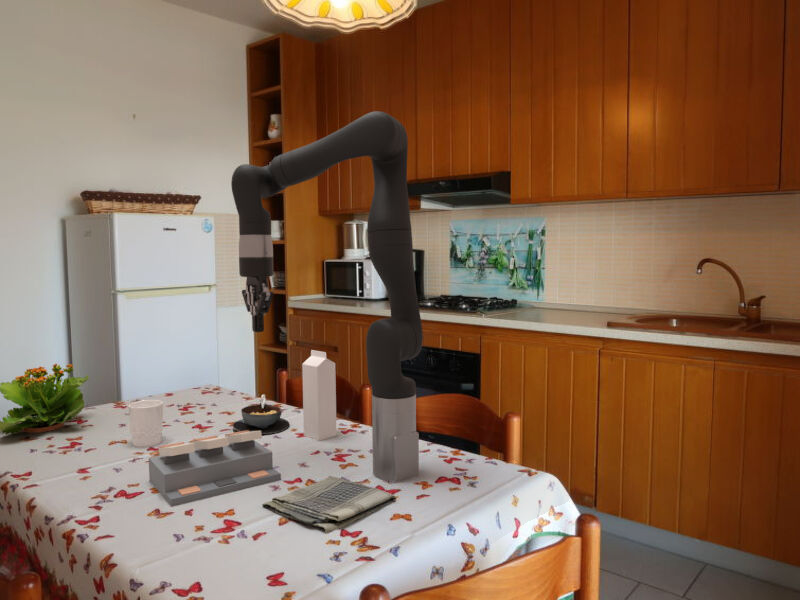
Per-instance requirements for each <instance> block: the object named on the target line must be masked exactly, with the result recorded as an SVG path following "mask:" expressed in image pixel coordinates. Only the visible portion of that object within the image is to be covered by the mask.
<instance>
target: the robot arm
mask: <svg viewBox="0 0 800 600" xmlns="http://www.w3.org/2000/svg"><path fill="white" fill-rule="evenodd" d="M408 140H409V139H408V134H407V131H406V128H405V127H404V125H403V124H402V123H401V122H400V121H399V120H398V119H396V118H395V117H393V116H392V115H391V114H389V113H386V112H384V111H380V110H379V111H378V110H375V111H371V112H368V113H366V114H364V115H362V116H361V117H358V118H356V119H355V120H354V121H352V122H350V123H348V124H347V125H344V126H343V127H342V128H339V129H338V130H336V131H334V132H331V133H330V134H329V135H326V136H325V137H322V138H320V139H318V140H316V141H314V142H311V143H308V144H306V145H303V146H301V147H299V148H295V149H292V150H290V151H287V152H283V153H281V154H279V155H277V156H275V157H274V158H273V159H272V160H271V161H270V164H268V165H265V166H257V165H253V164H247V163H244V164H240V165H239V166H237V167H236V168H235V169H234V170H233V173H232V176H231V182H230V183H231V193H232V196H233V201H234V204H235V208H236V212H237V214H238V226H239V227H238V229H239V230H238V231H239V239H238V240H239V241H238V265H239V266H238V267H239V268H238V270H239V273H238V274H239V276H240V278H241V277H242V278H246V282H245V289H241V293H242V297H243V301H244V304H245V308H246V310H247V312H248V313H249V314H250V316H251V324H252V325H251V327H252V329H251V330H252V332H255V333H263V332H265V320H264V319H265V315H266V314H268V313H269V312H270V311H269V310H270V307H271V304H272V301H273V299H274V298H273V297H274V292H273V291H269V283H268V282H269V281H268V277H272V276H274V246H273V245H274V244H273V239H272V218H271V213H270V212H269V210H267V209H266V208H264V206H263V202H262V199H266V198H270V197H273V196H275V195H277V194H278V193H281V192H282V191H284V190H285V189H287V188H288V187H292V186H295V185H298V184H300V183H304V182H307V181H310V180H312V179H315V178H316V177H318V176H320V175H322V174H323V173H324V172H327V170H329V169H331V168H332V167H333V166H335V165H337V164H339V163H342V162H344V161H348V160H352V159H356V158H363V157H369V158H370V160H371V164H372V171H373V172H372V173H373V183H374V185H373V186H374V187H373V195H372V200H371V204H370V208H369V213H368V217H367V227H366V228H367V229H366V230H367V231H366V232H367V244H368V254H369V258H370V261H371V264H372V266H373V268H374V269H375V271H376V273H377V275H378V277H379V278H380V280H381V282H382V284H383V285H384V287H385V289H386V292H387V294H388V295H387V296H388V299H389V307H390V317H388V318H383V319H381V318H380V319H377V320H375V321H374V322H372V323H371V324H370V326H369V327H368V329H367V334H366V341H365V348H366V349H365V350H366V363H367V365H366V366H367V378H368V381H369V385H370V388H371V422H372V423H371V426H372V429H371V430H372V431H371V434H372V435H371V436H372V475H373V477H374V478H377V479H379V480H383V481H386V482H393V483H394V484H395V483H399V482H402V481H407V480H410V479H414V478H417V477H419V476H420V456H419V455H420V451H419V447H420V446H419V442H420V441H419V440H420V439H419V438H420V437H419V435H420V434H419V432H418V431H417V416H416V415H417V410H416V409H417V391H416V389H417V387H416V385H417V384H416V381H415V380H414V379H413V378H411V377H407V376H405V375H403V372H402V364H401V363H402V362H403V361H409V360H413V359H415V358H416V357H417V356H418V355H420V352H421V350H422V348H423V343H424V333H423V324H422V320H421V319H422V318H421V312H420V307H419V302H418V295H417V289H416V277H415V268H414V267H415V266H414V265H415V264H414V251H413V250H414V249H413V248H414V247H413V233H412V224H411V223H412V222H411V221H412V220H411V213H410V212H411V210H410V201H409V199H410V198H409V192H408V176H407V175H408V151H409V149H408V147H409V144H408V143H409V141H408Z"/></svg>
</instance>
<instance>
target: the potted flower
mask: <svg viewBox="0 0 800 600" xmlns="http://www.w3.org/2000/svg"><path fill="white" fill-rule="evenodd" d="M51 371H52V372H53V373H48V370H47V369H46V368H45V367H44V366H39V367H34V368H27V369H26V370H24V371H23V372H24V375H19V376H15V377H14V379H13V380H11V382H9V381H6V382H4V381H2V382H0V393H1V394H2V397H3V398H4V399H6V400H7V401H11V402H13V403H15V404H16V405H18V406H20V407H12V408H10V410H7V415H6V416H3V417H2V421H1V420H0V433H2V434H4V433H5V435H9V434H10V435H15V434H19V432H20V431H23V432H25V433H28V434H29V433H35V434H36V433H44V432H49V431H55V430H58V429H60V428H62V427H63V426H64V424H65V422H68V421H71V420H73V418H74V417H76V416H77V415H79V414H80V413H81V412H83V409H84V408H85V404H86V402H85V400H84V399H83V398H84V394H83V393H82V391H81V389H80V388H79V387H80V386H82V385H84V383H86V382H87V381H88V380H89V379H90V377H89V375H88V374H85V375H84V377H80V376H78V377H75V376H71V377H70V375H71V372H73V371H74V365H73V364H69V363H68V364H66V365H65V368H62V366H61V365H60V364H57V363H55V364H53V365H52V368H51ZM65 372H66V373H67V374H68V377H67V378H63V377H65Z"/></svg>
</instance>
